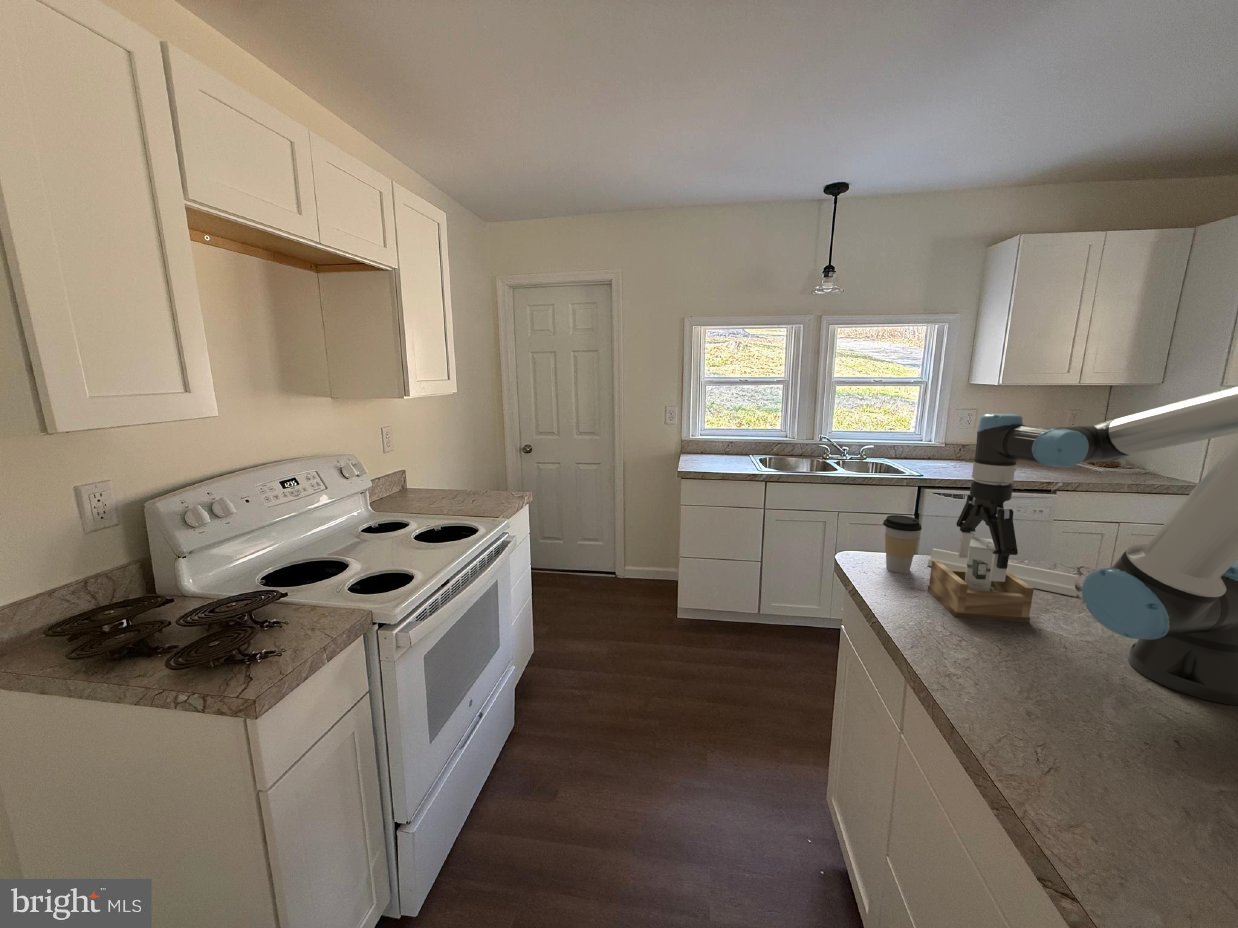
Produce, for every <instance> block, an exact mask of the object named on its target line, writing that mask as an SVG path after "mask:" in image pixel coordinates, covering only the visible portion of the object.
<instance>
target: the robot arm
mask: <svg viewBox="0 0 1238 928" xmlns="http://www.w3.org/2000/svg"><path fill="white" fill-rule="evenodd" d="M1023 421H1024V420H1023V416H1022V415H1020V414H1016V413H1015V414H1014V413H985V414H983V415H982V416H981V417H980V419H979V422H978V423H979V424H978V428H977V431H976V434H977V435H976V445H975V453H974V461H973V465H972V472H971V473H972V474H971V478H972V479H973V480H972V481H970V489H969V494H967V495H966V496H967V497H966V501H965V504H964V505H963V508H962V511H961V513H960V514H959V517H958V519H957V521H956V527H958V528H959V531H960V532H961V533H960V540H959V545H958V546H959V547H958V553H959V554H958V557H959V558H968V553H969V547H970V542H971V538H972V537H976V532H977V531H976V528H977V527H978V526H979V525H980V524H981V523H982V521H983V522H984V523H985V525H986V526H988V529H989V532H990V536H991V539H993V543H994V546H995V551H994V552H993V556H992V563H991V570H990V577H989V580H991V581H1001V582H1005V577H1006V571H1007V566H1008V563H1009V558H1010V556H1017V555H1018V554H1019V553H1018V545H1017V540H1016V539H1017V538H1016V533H1015V532H1016V531H1015V526H1014V525H1015V523H1014V510H1013V509H1012V508H1011V509H1010V508H1004V503H1005V502H1008V501H1010V500H1012V495H1013V489H1014V486H1013V484H1012V482H1014V479H1015V472H1016V470H1017V468H1016V465H1017V461H1023V462H1028V463H1034V464H1039V465H1043V466H1047V467H1050V468H1051V467H1052V468H1053V467H1057V468H1065V469H1066V468H1068V469H1069V468H1073V467H1075V466H1077V465H1078V464H1080V463H1087V462H1088V463H1092V462H1094V463H1095V462H1100V463H1107V462H1113V461H1117V460H1122V459H1125V458H1127V457H1129V456H1131V455H1135V454H1140V453H1145V452H1150V451H1156V450H1159V449H1160V450H1161V449H1166V448H1171V447H1177V446H1181V445H1186V444H1190V443H1195V442H1200V441H1205V440H1210V439H1216V438H1220V437H1225V436H1230V435H1234V434H1238V385H1235V386H1232V387H1228V388H1224V389H1221V390H1218V391H1213V392H1209V393H1205V394H1202V395H1198V396H1196V397H1195V396H1194V397H1191V398H1188V399H1184V400H1180V401H1177V402H1174V403H1173V402H1172V403H1170V404H1166V405H1163V406H1158V407H1154V408H1150V409H1147V410H1144V411H1141V412H1140V411H1139V412H1137V413H1133V414H1129V415H1126V416H1122V417H1119V418H1115V419H1111V420H1107V421H1103V422H1101V423H1097V424H1092V425H1079V426H1078V425H1076V426H1055V427H1054V426H1052V427H1051V426H1050V427H1047V426H1034V425H1033V426H1032V425H1025V424H1024V423H1023ZM1081 595H1082V599H1083V600H1084V602H1085V603H1086V604H1085V607H1086V609H1087V611H1088V612H1089V613H1090V614H1091V616H1092V617H1093V618H1094V619H1095V620H1096V621H1097V622H1098V623H1099V624H1100V625H1101V626H1103V627H1104V628H1105V629H1107V630H1109V631H1110V632H1112V633H1114V634H1116V635H1119V636H1121V637H1125V638H1127V639H1133V640H1136V642H1134V643H1133V644H1132V645H1131V646H1130V648H1129V651H1128V656H1127V660H1128V661H1127V662H1128V664H1129V665H1130V666H1131V667H1132V668H1133V669H1134V670H1136V671H1137V672H1138V673H1140V674H1141V675H1143V676H1144V677H1146V678H1147V679H1150V680H1151V681H1152V682H1153V681H1154V682H1156V683H1158V684H1159V685H1162V686H1165V687H1166V688H1169V689H1171V690H1174V691H1177V692H1179V693H1183V694H1185V695H1189V696H1191V697H1194V698H1197V699H1201V700H1206V701H1209V702H1214V703H1219V704H1225V705H1233V706H1238V437H1237V438H1236V439H1235V440H1234V441H1233V443H1232V444H1231V445H1230V446H1229V447H1228V448H1227V450H1226V451H1225V452H1224V453H1223V454H1222V456H1221V457H1220V458H1218V460H1217V462H1215V464H1214V465H1213V466H1212V467H1211V468H1210V470H1209V471H1208V472H1207V473H1206V475H1205V476H1204V477H1203V478H1202V479H1201V480H1200V481H1199V483H1198V484H1197V485H1196V486H1195V487H1194V488H1193V490H1192V491H1191V492H1190V493H1189V495H1188V496H1187V497H1185V499H1184V500H1183V501H1182V503H1181V504H1180V505H1179V506H1178V508H1176V509H1175V511H1173V513H1172V514H1171V515H1170V517H1169V518H1168V519H1167V520H1166V521H1165V523H1164V524H1163V525H1162V526H1161V527H1160V528H1159V529H1158V531H1157V532H1156V533H1155V534H1154V535H1153V537H1151V539H1150V540H1149V542H1148V543H1144V544H1143V543H1142V544H1134V545H1133V544H1132V545H1130V546H1129V547H1128V548H1127V549H1126V550H1125V551H1124V552H1123V553H1122V555H1121V556H1120V557H1119V558H1118V559H1117V560H1116V562H1115V563H1114V564H1113V565H1112V566H1111V567H1106V568H1105V567H1104V568H1098V569H1097V570H1095V571H1092V572H1091V573H1089V574H1088V575H1087V576H1086V577H1085V578H1084V580H1083V582H1082V585H1081Z"/></svg>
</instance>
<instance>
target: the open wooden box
mask: <svg viewBox="0 0 1238 928" xmlns="http://www.w3.org/2000/svg"><path fill="white" fill-rule="evenodd" d="M965 575H966V570H964V569H948V568H947V567H946V566H945V565H943V564H942V563H941V562H940V561H937V560H932V565H931V567H930V575H929V581H928V582H929V583H928V584H929V585H927V591H928V592H929V593H930V594H931V595H932V596H933V597H934V599H936V601H938V602H939V603H940V605H942V606H943V607H944V608H945V609H946V610H947V611H948V612H949V613H950V614H951V615H952V616H953V617H954V618H961V619H973V620H974V619H975V620H988V621H1000V622H1001V621H1002V622H1003V621H1004V622H1015V623H1027V624H1028V623H1030V622H1031V621H1030V620H1031V617H1030V614H1031V609H1032V602H1033V595H1034V590H1035V588H1032V587H1031V586H1029V585H1028V584H1026V583H1025V582H1023V581H1022V580H1020V579H1019V578H1017V577H1016V576H1014V575H1013V574H1011V573H1010V572H1008V571H1006V577H1005V582H1001V581H991V588H990V591H976V590H967V588H968V584H967V583H966V582H965Z"/></svg>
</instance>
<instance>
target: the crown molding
mask: <svg viewBox="0 0 1238 928" xmlns="http://www.w3.org/2000/svg"><path fill="white" fill-rule="evenodd" d="M958 554H959V552H955V551H948V550H944V549H939V548H935V547H934V548H932V549H931V555H930V559H928V560H927V561H928V563H927V567H930V568H931V565H932V560H937V561H940V562H941V563H942V564H943V565H945V566H946V567H947V568H948V569H964V570H966V567H967V559H968V558H959V557H958ZM1007 571H1008V572H1010V573H1011V574H1013V575H1014V576H1016V577H1017V578H1019V579H1020V580H1022V581H1023V582H1025V583H1026V584H1028V585H1029V586H1031V587H1032V588H1034V589H1035V590H1041V591H1045V592H1051V593H1055V594H1060V595H1065V596H1069V597H1075V598H1077V597H1078V588H1076V579H1077V578H1076V577H1077V576H1076V574H1071V573H1066V572H1061V571H1055V570H1051V569H1044V568H1040V567H1036V566H1035V567H1034V566H1028V565H1024V564H1018V563H1013V562H1012V563H1011V562H1008V566H1007Z"/></svg>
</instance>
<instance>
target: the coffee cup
mask: <svg viewBox="0 0 1238 928" xmlns="http://www.w3.org/2000/svg"><path fill="white" fill-rule="evenodd" d="M882 525H883V526H884V527H885V532H884V542H885V543H884V548H885V549H884V551H885V564H886V567H885V568H886V569H887V570H888V571H890V572H892V573H895V574H909V573H910V571H911V567H912V563H913V558H914V556H915V553H916V549H917V545H918V540H919V533H920V531H921V530H922V529H923V527H922V524H921V523H920V520H919V519H918V518H914V517H911V516H908V515H901V514H900V515H899V514H893V515H887V516H886V519H883V522H882Z"/></svg>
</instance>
